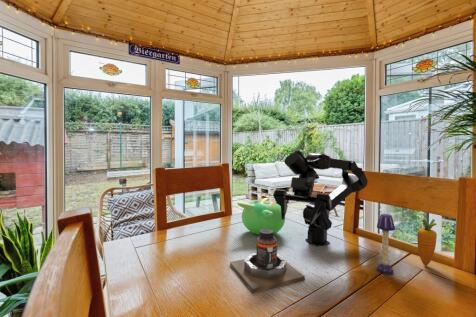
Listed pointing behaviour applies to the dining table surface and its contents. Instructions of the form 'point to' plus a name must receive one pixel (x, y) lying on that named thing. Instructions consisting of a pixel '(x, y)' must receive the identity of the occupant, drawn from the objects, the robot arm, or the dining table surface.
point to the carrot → (426, 242)
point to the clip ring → (265, 272)
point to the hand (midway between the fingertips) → (296, 221)
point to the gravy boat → (262, 216)
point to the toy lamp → (385, 241)
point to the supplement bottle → (266, 249)
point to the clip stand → (263, 284)
